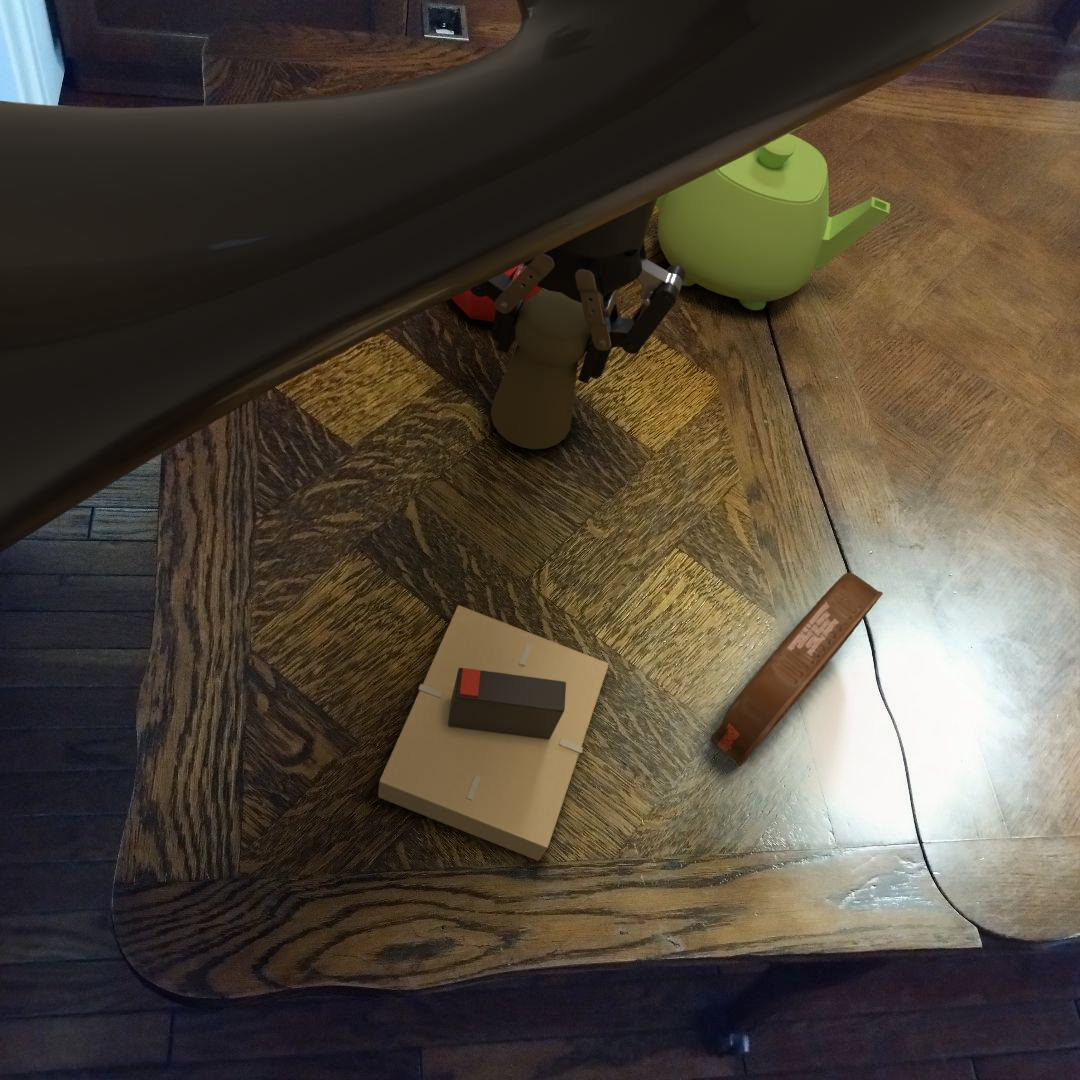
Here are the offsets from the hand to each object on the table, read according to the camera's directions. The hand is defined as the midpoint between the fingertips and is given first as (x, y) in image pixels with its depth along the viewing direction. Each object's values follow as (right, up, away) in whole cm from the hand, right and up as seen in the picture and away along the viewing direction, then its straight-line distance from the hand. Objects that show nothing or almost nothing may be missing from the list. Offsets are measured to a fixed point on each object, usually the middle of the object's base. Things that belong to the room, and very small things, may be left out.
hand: (546, 357), depth 67 cm
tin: (+15, -22, -2) cm, 27 cm away
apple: (-5, +7, +12) cm, 14 cm away
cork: (-1, -3, +6) cm, 7 cm away
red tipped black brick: (-3, -23, -10) cm, 25 cm away
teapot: (+16, +11, +19) cm, 27 cm away
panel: (-3, -24, -7) cm, 26 cm away
